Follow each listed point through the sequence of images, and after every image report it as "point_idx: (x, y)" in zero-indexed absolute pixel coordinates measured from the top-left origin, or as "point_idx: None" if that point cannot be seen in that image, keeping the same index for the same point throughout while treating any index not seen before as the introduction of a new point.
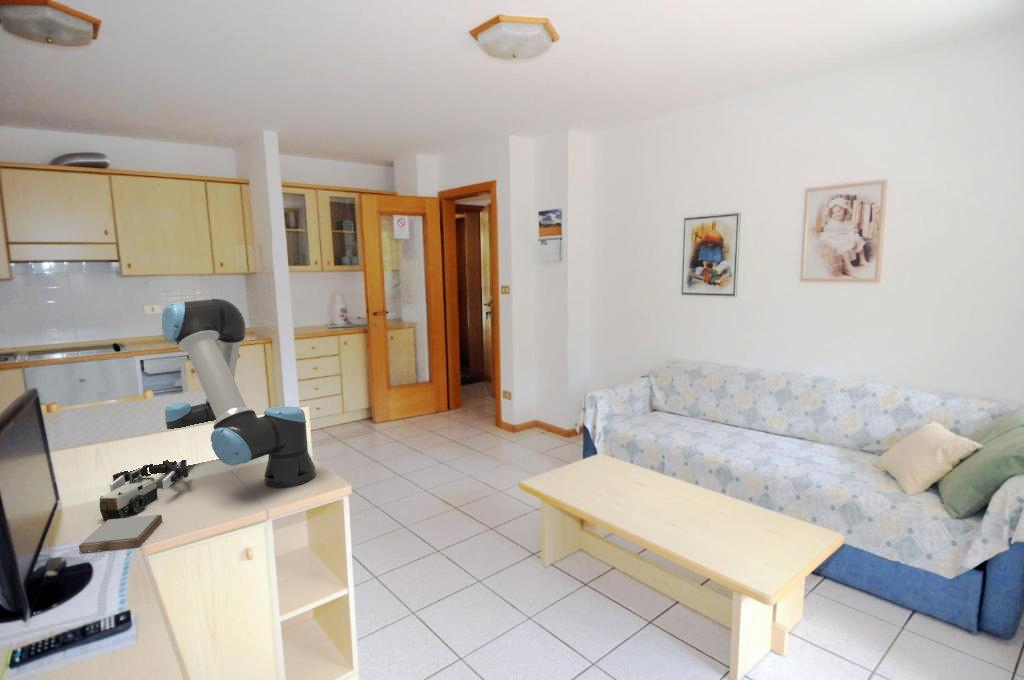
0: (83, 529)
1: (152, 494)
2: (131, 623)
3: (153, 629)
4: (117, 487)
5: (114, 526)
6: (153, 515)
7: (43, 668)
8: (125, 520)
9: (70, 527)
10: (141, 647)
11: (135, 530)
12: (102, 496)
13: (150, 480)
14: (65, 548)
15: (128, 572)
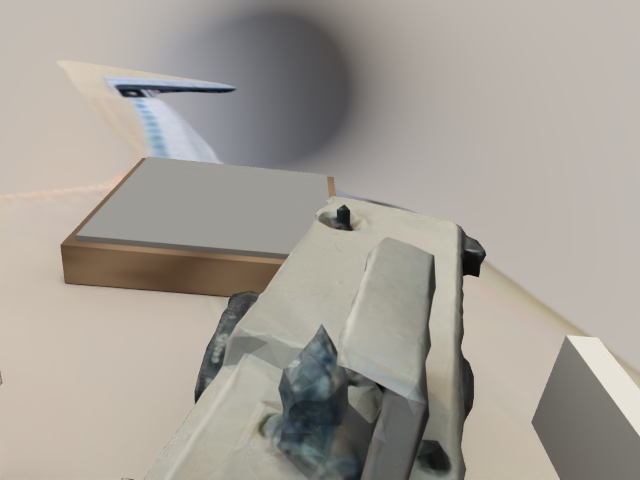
0: None
1: None
2: (116, 87)
3: (82, 78)
4: (585, 475)
5: (266, 212)
6: (102, 235)
7: (209, 82)
8: (238, 234)
9: (557, 350)
10: (97, 72)
11: (164, 179)
12: (468, 243)
13: (166, 477)
14: None
15: (149, 137)
